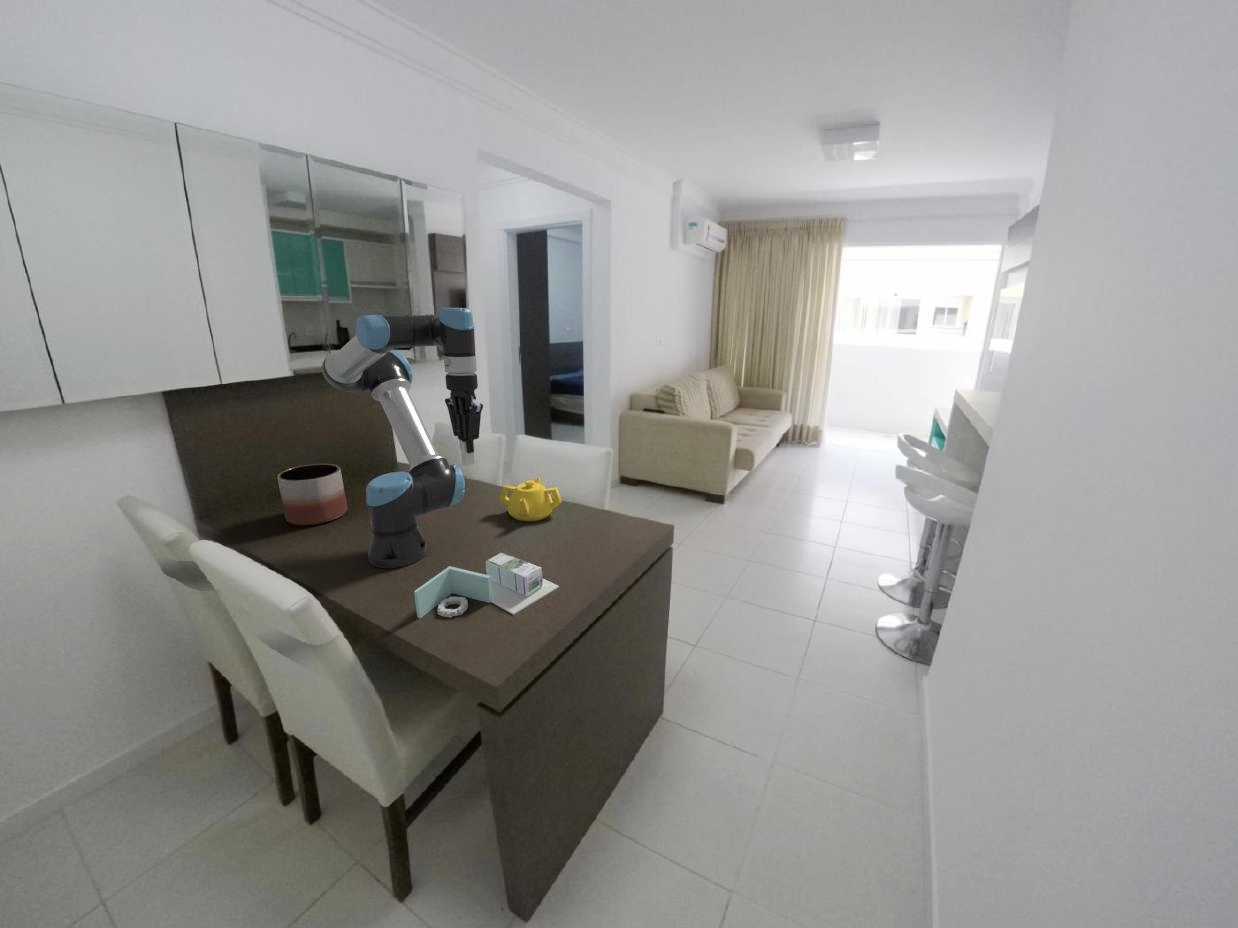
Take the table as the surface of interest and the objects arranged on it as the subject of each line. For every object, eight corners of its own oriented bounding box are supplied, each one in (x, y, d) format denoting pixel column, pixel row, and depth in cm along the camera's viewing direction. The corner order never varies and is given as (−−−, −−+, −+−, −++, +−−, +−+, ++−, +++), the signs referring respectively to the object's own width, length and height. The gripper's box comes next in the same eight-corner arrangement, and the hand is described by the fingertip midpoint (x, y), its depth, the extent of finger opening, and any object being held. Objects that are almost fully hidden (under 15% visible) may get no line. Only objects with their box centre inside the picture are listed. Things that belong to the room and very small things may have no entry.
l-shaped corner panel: (417, 619, 111) (414, 591, 108) (452, 592, 121) (449, 566, 119) (460, 632, 107) (458, 603, 104) (492, 602, 117) (490, 575, 115)
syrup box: (486, 579, 125) (527, 598, 118) (484, 559, 123) (526, 577, 116) (502, 569, 130) (543, 587, 122) (501, 550, 128) (542, 567, 120)
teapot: (564, 515, 165) (564, 483, 162) (521, 528, 155) (519, 494, 152) (539, 501, 178) (538, 470, 174) (497, 512, 167) (495, 479, 164)
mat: (471, 590, 121) (471, 589, 121) (517, 567, 132) (517, 565, 132) (513, 615, 112) (513, 613, 112) (559, 587, 123) (559, 586, 123)
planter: (291, 532, 150) (281, 485, 145) (282, 514, 162) (272, 470, 157) (354, 517, 161) (346, 473, 156) (340, 501, 174) (333, 460, 169)
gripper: (432, 372, 120) (441, 462, 127) (463, 377, 112) (471, 472, 120) (458, 369, 126) (465, 455, 133) (490, 374, 118) (495, 465, 125)
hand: (468, 463), depth 126 cm, fingers closed
